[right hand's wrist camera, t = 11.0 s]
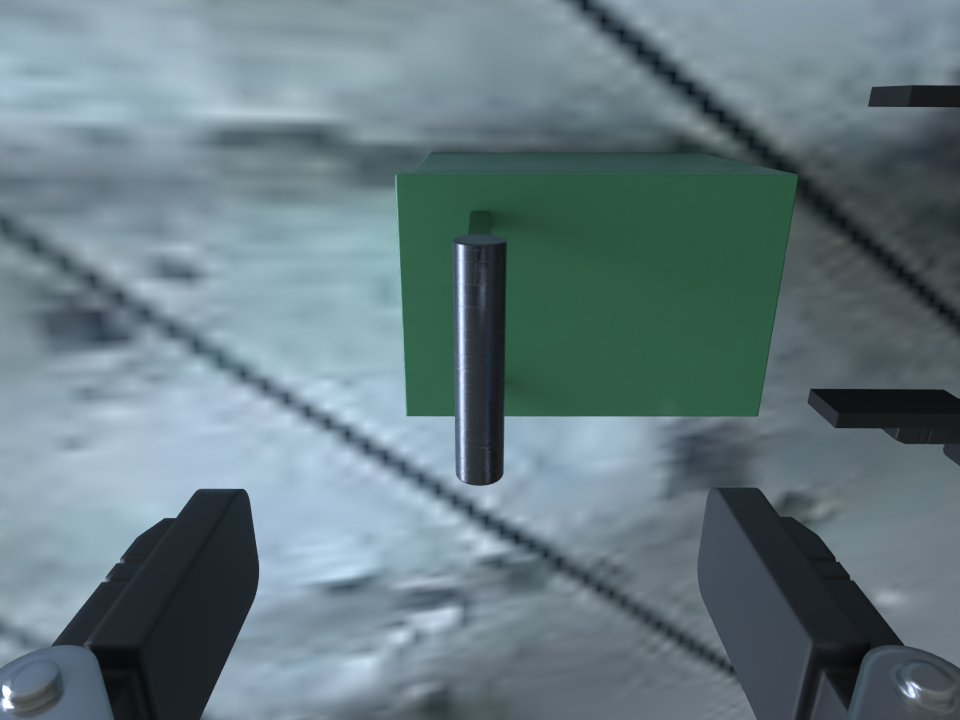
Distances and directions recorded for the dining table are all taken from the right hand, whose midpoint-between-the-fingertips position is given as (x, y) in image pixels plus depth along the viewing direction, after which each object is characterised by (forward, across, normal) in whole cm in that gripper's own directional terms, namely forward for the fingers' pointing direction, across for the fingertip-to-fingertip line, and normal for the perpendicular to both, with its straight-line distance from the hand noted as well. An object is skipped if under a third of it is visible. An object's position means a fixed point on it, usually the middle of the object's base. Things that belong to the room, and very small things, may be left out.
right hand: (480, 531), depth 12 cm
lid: (+15, +4, 0) cm, 16 cm away
